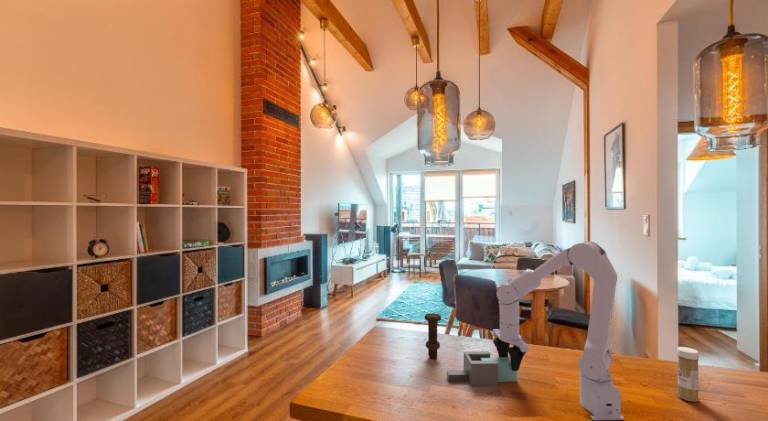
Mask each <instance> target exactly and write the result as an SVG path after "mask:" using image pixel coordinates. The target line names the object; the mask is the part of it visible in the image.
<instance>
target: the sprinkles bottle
mask: <svg viewBox="0 0 768 421" xmlns="http://www.w3.org/2000/svg"><path fill="white" fill-rule="evenodd" d="M676 354H677V394H676V395H677V396H678V397H679V398H680V399H682V400H684V401H688V402H694V403H695V402H699V360H700V355H699V354H700V352H699V351H698V350H697V349H694V348H691V347H685V346H678V347H677V350H676Z"/></svg>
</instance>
